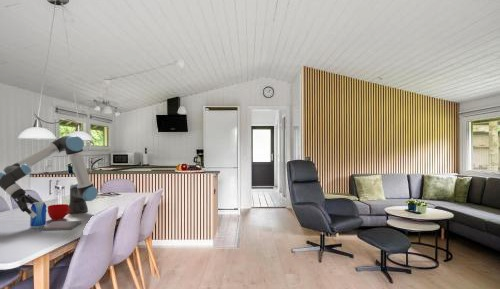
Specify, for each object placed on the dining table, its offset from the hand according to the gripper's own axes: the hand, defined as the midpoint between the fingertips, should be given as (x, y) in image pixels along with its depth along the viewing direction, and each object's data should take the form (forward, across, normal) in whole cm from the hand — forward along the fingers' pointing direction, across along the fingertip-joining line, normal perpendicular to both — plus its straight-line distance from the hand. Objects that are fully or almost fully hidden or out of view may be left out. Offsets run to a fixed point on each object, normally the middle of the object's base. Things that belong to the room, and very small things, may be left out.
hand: (40, 214), depth 196 cm
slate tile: (+16, +1, +4) cm, 16 cm away
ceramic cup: (+8, -21, -3) cm, 23 cm away
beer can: (+5, 0, -7) cm, 9 cm away
